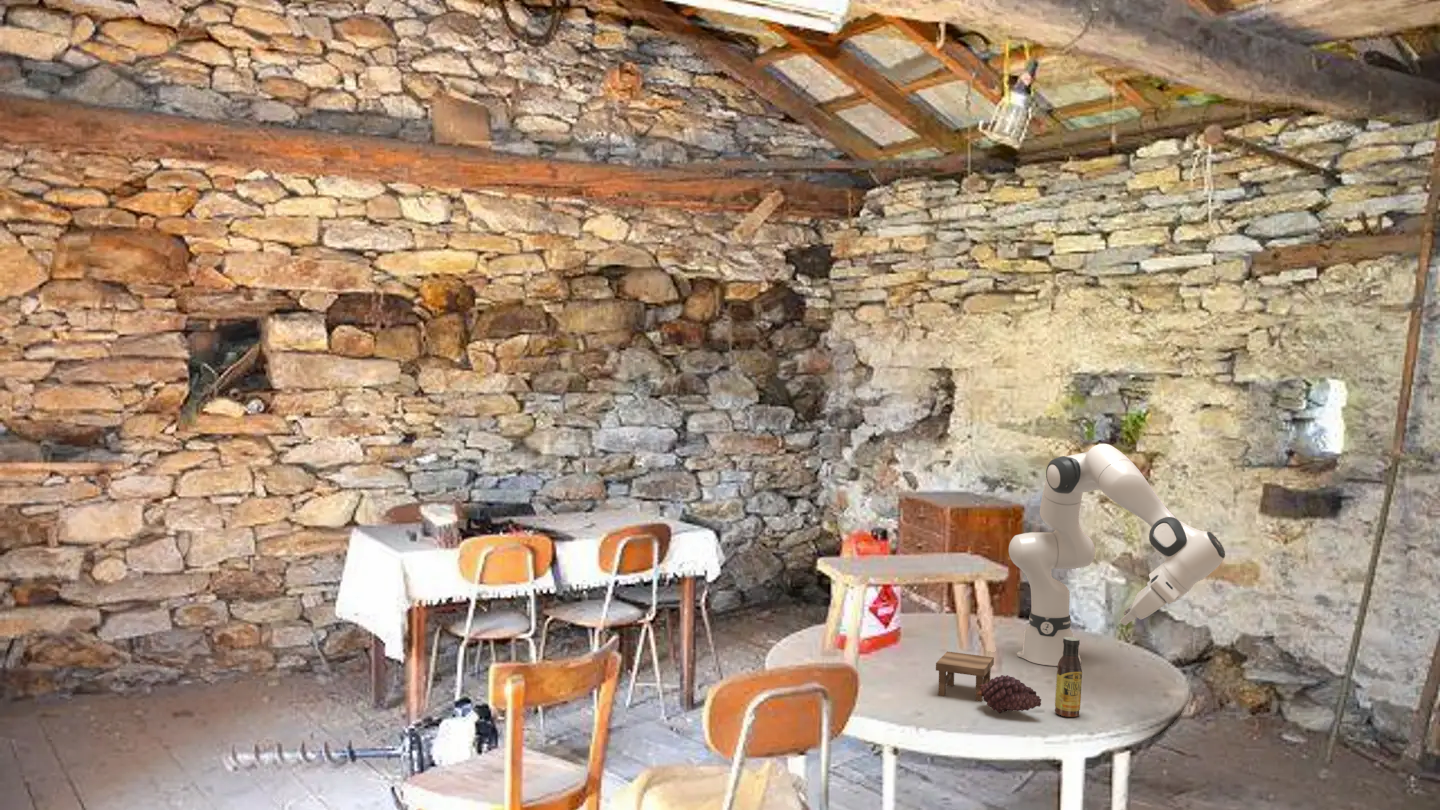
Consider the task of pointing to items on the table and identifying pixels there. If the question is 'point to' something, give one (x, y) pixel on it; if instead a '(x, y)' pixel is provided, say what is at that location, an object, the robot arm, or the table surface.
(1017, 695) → the pine cone
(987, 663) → the light brown wooden stool
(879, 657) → the table surface
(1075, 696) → the sauce bottle
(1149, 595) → the robot arm
